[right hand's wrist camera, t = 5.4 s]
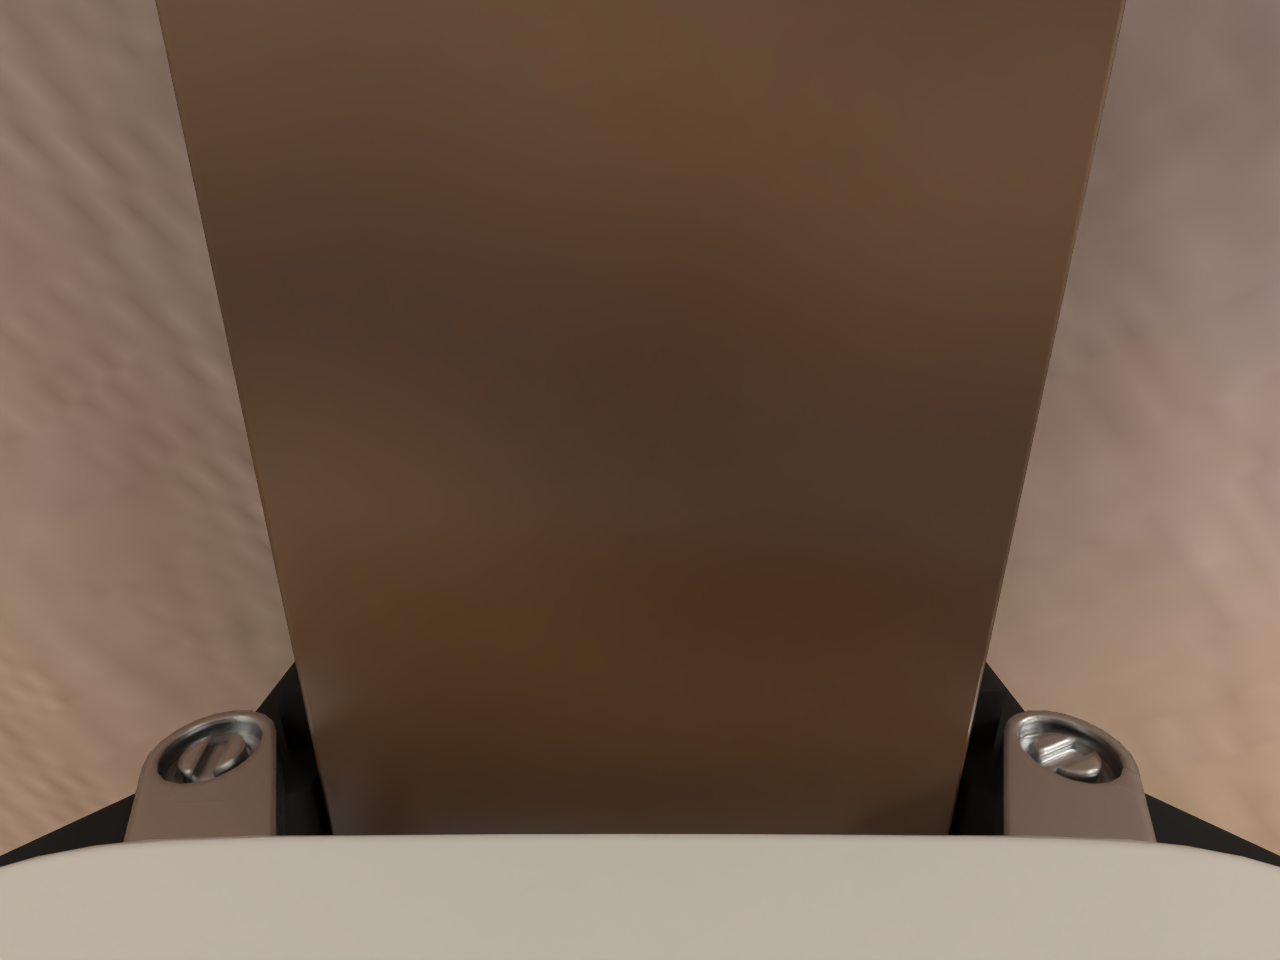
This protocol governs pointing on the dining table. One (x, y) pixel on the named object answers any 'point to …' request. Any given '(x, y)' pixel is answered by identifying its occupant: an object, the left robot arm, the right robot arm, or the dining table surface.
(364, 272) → the beam
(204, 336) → the dining table surface
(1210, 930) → the right robot arm
